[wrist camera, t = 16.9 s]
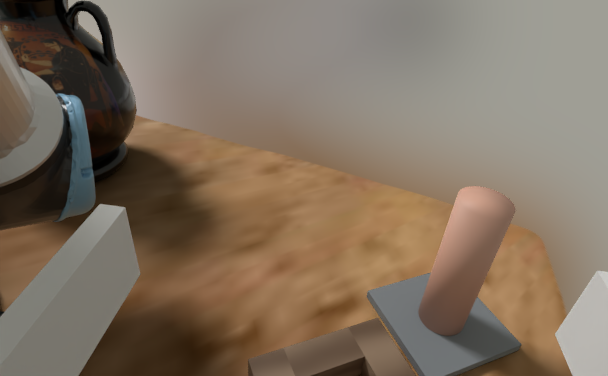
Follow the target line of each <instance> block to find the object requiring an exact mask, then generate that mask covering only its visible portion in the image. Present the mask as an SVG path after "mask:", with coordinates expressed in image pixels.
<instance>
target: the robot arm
mask: <svg viewBox="0 0 608 376" xmlns="http://www.w3.org/2000/svg"><path fill="white" fill-rule="evenodd" d="M95 200H96V194H95V182H94V175H93V170H92V158H91V150H90V143H89V136H88V130H87V124H86V118H85V112H84V108H83V104H82V102H81V100H80V99H79V98H78V97H77V96H74V95H65V94H55V93H54V91H53V90H52V89H51V88H50V86H49V85H48V84H47V83H46V82H44V81H43V80H42V79H41V78H39V77H38V76H36V75H35V74H33V73H31V72H30V71H28V70H26V69H23V68H21V67H19V65H18V63H17V61H16V59H15V57H14V55H13V53H12V51H11V49H10V47H9V45H8V43H7V41H6V39H5V37H4V35H3V33H2V31H1V29H0V230H5V229H10V228H16V227H21V226H27V225H32V224H38V223H43V222H49V221H53V222H59V221H62V220H64V219H65V218H68V217H72V216H76V215H81V214H84V213H86V212H88V211H90V210H91V209H92V207H93V206H94V204H95ZM139 276H140V270H139V266H138V261H137V257H136V252H135V248H134V243H133V239H132V235H131V230H130V226H129V221H128V217H127V212H126V208H125V207H120V206H112V205H105V204H99V205H98V207H97V208H96V209H95V210H94V211H93V212H92V213H91V215H90V216H89V217H88V218H87V219H86V220H85V221H84V222H83V224H82V225H81V226H80V227H79V228H78V229H77V230H76V232H75V233H74V234H73V235H72V236H71V237H70V238H69V239H68V241H67V242H66V243H65V244H64V245H63V246H62V247H61V249H60V250H59V251H58V252H57V253H56V254H55V255H54V257H53V258H52V259H51V260H50V261H49V262H48V263H47V264H46V266H45V267H44V268H43V269H42V270H41V271H40V272H39V274H38V275H37V276H36V277H35V278H34V279H33V280H32V281H31V283H30V284H29V285H28V286H27V287H26V288H25V289H24V291H23V292H22V293H21V294H20V295H19V296H18V297H17V298H16V300H15V301H14V302H13V303H12V304H11V305H10V306H9V308H8V309H7V310H6V311H5V312H2V311H0V376H79V374H80V373H81V371H82V369H83V368H84V366H85V364H86V363H87V361H88V359H89V358H90V356H91V355H92V353H93V351H94V350H95V348H96V346H97V345H98V343H99V341H100V340H101V338H102V336H103V335H104V333H105V332H106V330H107V328H108V327H109V325H110V323H111V322H112V320H113V318H114V317H115V315H116V313H117V312H118V310H119V309H120V307H121V305H122V304H123V302H124V300H125V299H126V297H127V295H128V294H129V292H130V290H131V289H132V287H133V286H134V284H135V282H136V281H137V279H138V277H139ZM555 335H556V338H557V340H558V342H559V345H560V347H561V349H562V352H563V354H564V357H565V359H566V361H567V364H568V366H569V368H570V371H571V373H572V375H573V376H608V272H603V271H597V272H596V273H595V275H594V276H593V278H592V279H591V281H590V282H589V284H588V285H587V287H586V288H585V290H584V292H583V293H582V294H581V296H580V297H579V299H578V300H577V302H576V304H575V305H574V306H573V308H572V310H571V311H570V313H569V314H568V315H567V317H566V318H565V320H564V321H563V323H562V324H561V326H560V328H559V329H558V331H557V332H556V334H555Z"/></svg>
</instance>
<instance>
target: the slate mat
mask: <svg viewBox="0 0 608 376" xmlns="http://www.w3.org/2000/svg"><path fill="white" fill-rule="evenodd" d="M430 274H431V273H428V274H424V275H421V276H417V277H414V278H411V279H407V280H404V281H400V282H397V283H393V284H390V285H387V286H383V287H380V288H376V289H373V290H370V291H368V293H367V298H368V299H369V301H370V302H371V304H372V305H373V307H374V308H375V310H376V311H377V313H378V315H379V316H380V318H381V319H382V321H383V322H384V324H385V325H386V327H387V328H388V330H389V331H390V333H391V334H392V336H393V337H394V339H395V340H396V342H397V343H398V345H399V346H400V348H401V349H402V351H403V352H404V354H405V355H406V357H407V358H408V360H409V361H410V363H411V364H412V366H413V367H414V369H415V370H416V372H417V373H418V375H419V376H456V375H459V374H461V373H464V372H466V371H469V370H471V369H474V368H476V367H478V366H481V365H483V364H486V363H488V362H491V361H493V360H496V359H498V358H501V357H503V356H505V355H508V354H510V353H513V352H515V351H518V350H519V348H520V347H521V343H520V342H519V341H518V340H517V339H516V338H515V337H514V336H513V335H512V334H511V333H510V332H509V331H508V329H507V328H506V327H505V326H504V325H503V324H502V323H501V322H500V321H499V320H498V319H497V318H496V317H495V315H494V314H493V313H492V312H491V311H490V310H489V309H488V308H487V307H486V306H485V305H484V304H483V303H482V301H481V300H480V299H479V298H478V297H477V298H476V300H475V302H474V305H473V307H472V309H471V311H470V314H469V316H468V318H467V320H466V322H465V325H464V327H463V329H462V331H461V332H459V333H458V334H456V335H452V336H444V335H440V334H437V333H435V332H433V331H431V330H430V329H428V328H427V327H426V326H425V325H424V324H423V323H422V321H421V320H420V317H419V314H418V310H419V306H420V303H421V301H422V298H423V295H424V292H425V289H426V286H427V283H428V280H429V277H430Z"/></svg>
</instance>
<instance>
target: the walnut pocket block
mask: <svg viewBox="0 0 608 376" xmlns="http://www.w3.org/2000/svg"><path fill="white" fill-rule="evenodd" d="M360 374H361V376H416V375H415V374H414V372H413V371H412V369H411V368H410V366H409V365H408V363H407V361H406V360H405V358H404V357H403V355H402V354H401V352H400V351H399V349H398V348H397V346H396V345H395V343H394V342H393V340H392V339H391V337H390V336H389V334H388V333H387V331H386V330H385V328H384V326H383V325H382V323H381V322H380V320H379V319H378V318H376V319H372V320H369V321H366V322H363V323H360V324H357V325H354V326H351V327H347V328H344V329H341V330H338V331H335V332H332V333H329V334H326V335H323V336H319V337H316V338H313V339H310V340H307V341H304V342H301V343H298V344H294V345H291V346H288V347H285V348H282V349H279V350H276V351H273V352H270V353H266V354H263V355H260V356H257V357H254V358H251V359H248V376H357V375H360Z"/></svg>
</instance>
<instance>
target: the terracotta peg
mask: <svg viewBox="0 0 608 376" xmlns="http://www.w3.org/2000/svg"><path fill="white" fill-rule="evenodd" d="M514 213H515V207H514V204H513V203H512V202H511V200H510V199H508V198H507V197H506V196H504V195H503V194H501V193H499V192H497V191H495V190H492V189H489V188H484V187H478V186H470V187H465V188H463V189H461V190H460V191H459V192H458V196H457V198H456V201H455V204H454V207H453V210H452V213H451V216H450V219H449V222H448V224H447V227H446V230H445V233H444V236H443V239H442V242H441V245H440V248H439V251H438V254H437V257H436V260H435V262H434V265H433V268H432V271H431V274H430V277H429V280H428V283H427V286H426V289H425V292H424V295H423V298H422V301H421V303H420V306H419V310H418V314H419V317H420V320H421V321H422V323H423V324H424V325H425V326H426V327H427V328H428V329H430V330H431V331H433V332H435V333H437V334H440V335H444V336H452V335H456V334H458V333H459V332H461V331H462V329H463V327H464V325H465V322H466V320H467V318H468V316H469V314H470V311H471V309H472V307H473V305H474V302H475V300H476V298H477V296H478V293H479V291H480V289H481V287H482V285H483V282H484V280H485V278H486V276H487V273H488V271H489V269H490V267H491V265H492V262H493V260H494V258H495V256H496V253H497V251H498V249H499V247H500V245H501V242H502V240H503V238H504V236H505V233H506V231H507V229H508V227H509V224H510V222H511V220H512V218H513V216H514Z"/></svg>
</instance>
